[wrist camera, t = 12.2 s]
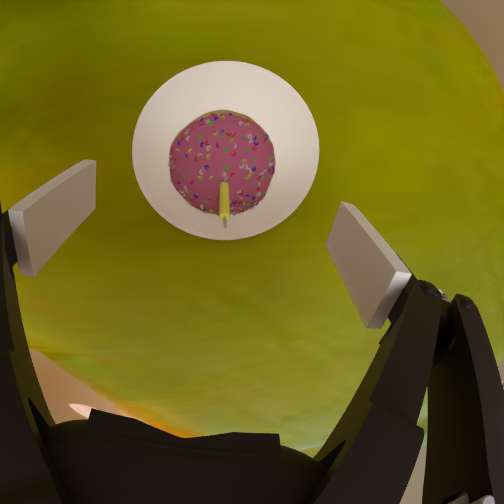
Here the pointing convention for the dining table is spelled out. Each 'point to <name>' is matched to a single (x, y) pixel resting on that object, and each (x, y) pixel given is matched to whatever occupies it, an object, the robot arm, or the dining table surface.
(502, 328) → the dining table surface
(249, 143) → the cupcake
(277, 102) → the cake stand
